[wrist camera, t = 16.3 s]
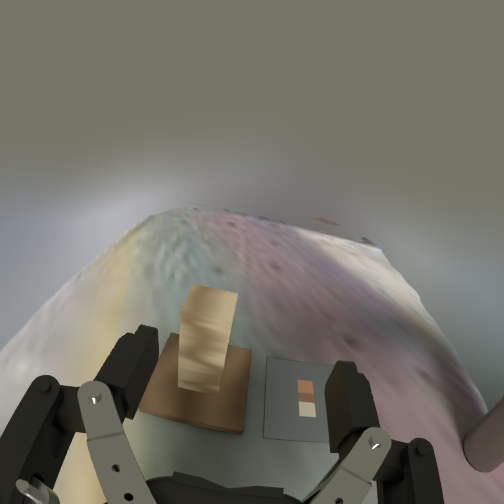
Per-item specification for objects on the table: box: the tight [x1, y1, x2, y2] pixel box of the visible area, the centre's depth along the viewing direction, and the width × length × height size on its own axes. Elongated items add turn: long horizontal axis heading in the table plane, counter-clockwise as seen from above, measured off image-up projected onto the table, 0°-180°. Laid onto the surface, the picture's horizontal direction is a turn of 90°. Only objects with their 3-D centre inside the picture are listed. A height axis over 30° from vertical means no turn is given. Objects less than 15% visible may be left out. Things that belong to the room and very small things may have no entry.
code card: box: [263, 357, 334, 442], centre depth 35 cm, size 11×14×1 cm
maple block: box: [178, 284, 238, 396], centre depth 32 cm, size 5×5×12 cm
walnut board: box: [139, 333, 252, 435], centre depth 34 cm, size 12×14×1 cm
